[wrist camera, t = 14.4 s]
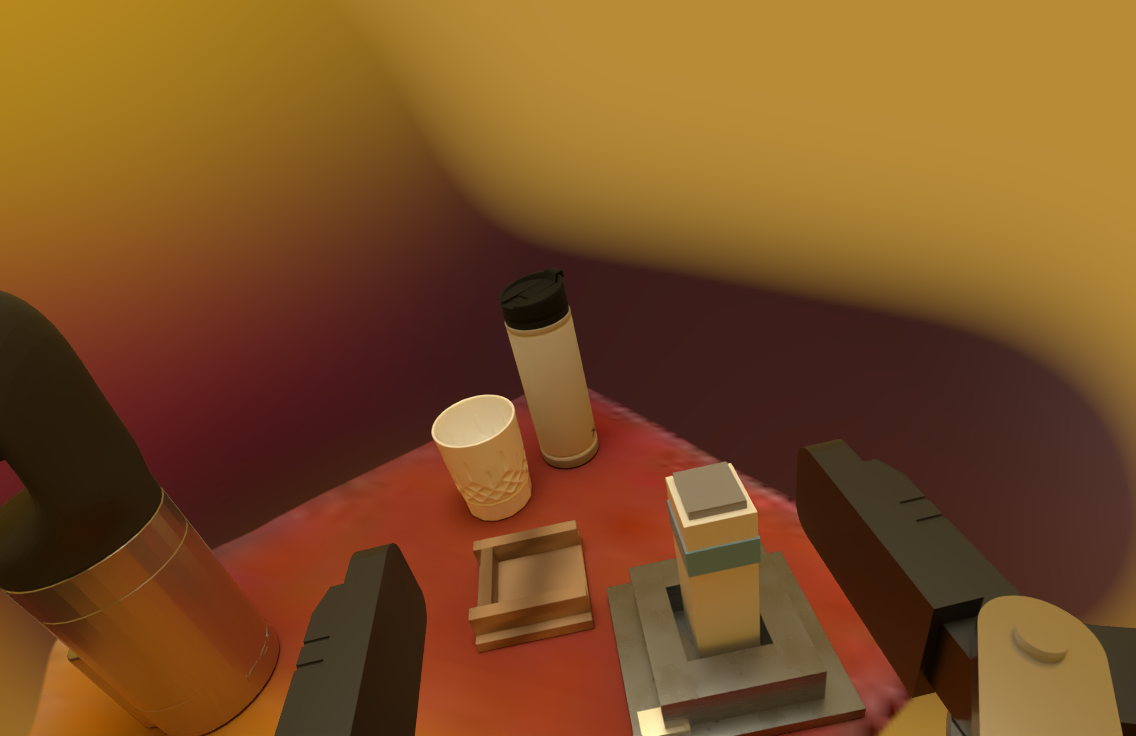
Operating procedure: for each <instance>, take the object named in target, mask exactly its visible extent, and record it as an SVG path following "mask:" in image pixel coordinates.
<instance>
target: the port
mask: <svg viewBox="0 0 1136 736" xmlns="http://www.w3.org/2000/svg"><path fill="white" fill-rule="evenodd" d="M760 548H761V562H760V563H758V567H759V610H760V646H759V647H755V648H750V649H745V650H740V651H736V652H731V653H726V654H721V655H716V656H712V657H707V658H702V659H697V656H696V653H695V650H694V647H693V643H692V640H691V637H690V634H689V630H688V627H687V624H686V621H685V616H684V609H683V601H682V594H681V587H680V580H679V572H678V565H677V558H674V559H669V560H665V561H660V562H655V563H651V564H646V565H641V566H636V567H632V568H629V573H630V578H631V583H627V584H622V585H618V586H613V587H608V588H607V593H608V599H609V604H610V610H611V615H612V621H613V626H614V631H615V637H616V642H617V648H618V653H619V658H620V664H621V669H622V675H623V680H624V686H625V691H626V696H627V702H628V707H629V713H630V718H631V724H632V729H633V734H634V736H775V735H780V734H785V733H790V732H794V731H799V730H804V729H809V728H814V727H819V726H823V725H828V724H833V723H838V722H843V721H848V720H853V719H857V718H862V717H864V716H865V710H866V708H865V706H864V704H863V703H862V701H861V699H860V697H859V695H858V693H857V691H856V690H855V688H854V686H853V684H852V682H851V680H850V678H849V677H848V675H847V673H846V671H845V669H844V667H843V666H842V664H841V662H840V660H839V658H838V656H837V654H836V653H835V651H834V649H833V647H832V645H831V643H830V641H829V640H828V638H827V636H826V634H825V632H824V630H823V629H822V627H821V625H820V623H819V621H818V619H817V617H816V616H815V614H814V612H813V610H812V608H811V606H810V605H809V603H808V601H807V599H806V597H805V595H804V593H803V592H802V590H801V588H800V586H799V584H798V582H797V580H796V579H795V577H794V575H793V573H792V571H791V569H790V568H789V566H788V564H787V562H786V560H785V558H784V556H783V555H782V553H781V551H778V552H773V553H769V554H767V553H766V551H765V549H764V547H763V545H762V543H761V541H760Z"/></svg>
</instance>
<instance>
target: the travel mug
mask: <svg viewBox="0 0 1136 736" xmlns="http://www.w3.org/2000/svg"><path fill="white" fill-rule="evenodd" d="M562 277H564V276H563V271H562V270H558V269H554V268H548V269H546V270H544V271H543V272H536V273H532V274H529V275H526V276H523V277H521V278H519V279H517V280H515V281H514V282H512V283H510V284H509V285H508V286H507V287H505V288H504V290H503V291H502V292H501V294H500V296H499V301H500V305H501V308H502V312H503V315H504V319H505V325H506V328H507V332H508V335H509V339H510V342H511V346H512V349H513V353H514V356H515V360H516V363H517V367H518V370H519V374H520V377H521V381H522V385H523V388H524V392H525V395H526V399H527V402H528V406H529V409H530V413H531V416H532V420H533V423H534V427H535V430H536V434H537V437H538V441H539V444H540V448H541V451H542V455H543V458H544V460H545V461H546V462H547V463H548V464H550V465H552V466H554V467H558V468H572V467H576V466H580V465H582V464H584V463H586V462H587V461H589V460H590V459H591V458H592V457H593V456H594V455H595V454H596V452H597V450H598V446H599V443H598V438H597V433H596V429H595V424H594V419H593V414H592V410H591V405H590V400H589V396H588V391H587V386H586V382H585V377H584V372H583V367H582V363H581V358H580V353H579V349H578V345H577V339H576V335H575V330H574V326H573V321H572V316H571V313H570V307H569V305H568V301H567V295H566V291H565V286H564V281H563V278H562Z"/></svg>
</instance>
